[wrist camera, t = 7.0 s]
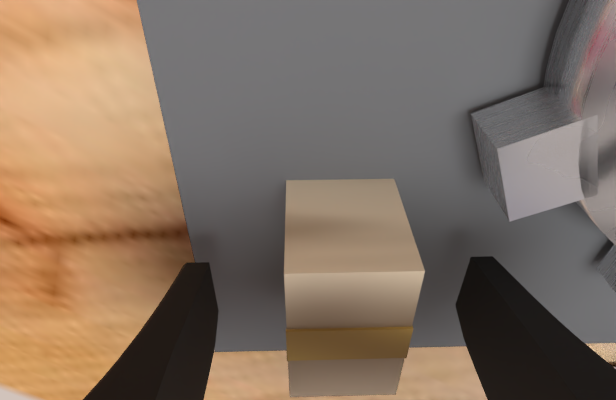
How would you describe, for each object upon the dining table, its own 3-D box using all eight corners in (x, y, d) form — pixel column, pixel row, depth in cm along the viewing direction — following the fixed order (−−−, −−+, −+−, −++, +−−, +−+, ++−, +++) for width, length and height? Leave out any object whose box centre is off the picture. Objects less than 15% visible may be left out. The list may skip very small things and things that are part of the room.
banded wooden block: (377, 297, 15) (397, 396, 12) (290, 299, 15) (289, 399, 12) (394, 178, 12) (427, 273, 9) (285, 180, 12) (283, 276, 9)
